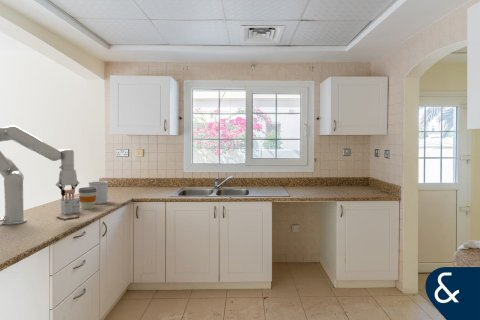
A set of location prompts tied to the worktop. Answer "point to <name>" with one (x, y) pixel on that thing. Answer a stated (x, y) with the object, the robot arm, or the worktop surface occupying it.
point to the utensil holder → (100, 191)
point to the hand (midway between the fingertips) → (68, 194)
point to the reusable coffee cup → (87, 197)
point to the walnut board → (67, 217)
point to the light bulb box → (70, 206)
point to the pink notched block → (69, 191)
